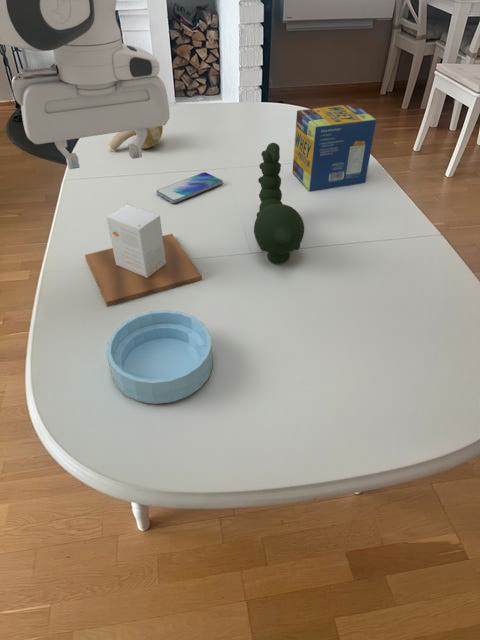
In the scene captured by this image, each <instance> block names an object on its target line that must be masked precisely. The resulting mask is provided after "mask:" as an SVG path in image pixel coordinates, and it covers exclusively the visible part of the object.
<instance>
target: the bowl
mask: <svg viewBox="0 0 480 640" xmlns="http://www.w3.org/2000/svg"><path fill="white" fill-rule="evenodd" d="M211 337H212V336H211V333H210V332H209V330H208V328H207V327H206V325H205V324H204V323H203V322H201V321H200V320H199V319H197V317H195V316H193V315H190V314H188V313H185V312H182V311H177V310H169V309H163V310H152V311H148V312H144V313H140V314H138V315H135V316H133V317H131V318H129V319H127V320H125V321H124V322H122V324H121V325H119V326H118V327H117V328H116V329H115V330H114V331H113V332H112V334H111V336H110V338H109V340H108V342H107V347H106V358H107V363H108V365H109V369H110V374H111V377H112V380H113V383H114V385H115V387H116V388H117V389H118V390H119V391H120V392H121V393H122V394H123V395H125V396H126V397H128V398H129V399H130V398H131V399H133V400H135V401H137V402H140V403H146V404H154V405H158V404H168V403H169V404H170V403H173V402H176V401H179V400H182V399H185V398H189V397H190V396H191V395H192V394H194V393H195V392H196V391H198V390H199V389H201V388H202V387H203V385H204V384H205V383H206V381H207V380H208V379H209V378H210V375H211V371H212V369H213V348H212V347H213V346H212V345H213V344H212V338H211Z"/></svg>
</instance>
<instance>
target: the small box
mask: <svg viewBox="0 0 480 640" xmlns="http://www.w3.org/2000/svg"><path fill="white" fill-rule="evenodd" d="M106 222H107V226H108V231H109V236H110V243H111V246H112V248H113V252H114V257H115V262H116V265H118V266H120V267H123V268H125V269H127V270H130V271H132V272H134V273H137V274H139V275H141V276H144V277H146V278H148V277H149V276H151V275H152V274H153V273H155V272H156V271H157V270H158V269H160V268H161V267H162V266H164V265H165V264H166V259H165V251H164V244H163V236H164V235H163V229H162V221H161V216H160V215H158V214H155V213H152V212H151V211H147V210H145V209H141V208H139V207H136V206H133V205H131V204H126V205H124V206H122V207H121V208H119V209H117V210H115V211H114V212H112V213H111V214H108V215H107V216H106Z"/></svg>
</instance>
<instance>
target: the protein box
mask: <svg viewBox="0 0 480 640" xmlns="http://www.w3.org/2000/svg"><path fill="white" fill-rule="evenodd" d="M295 120H296V121H295V135H294V148H293V159H292V174H293V175H294V176H295V177H296V178H297V180H298V181H299V182H300V183H301V184H302V185H303V187H305V189H306V190H307V191H308V192H313V191H320V190H325V189H332V188H339V187H345V186H352V185H358V184H364V183H366V181H367V175H368V169H369V164H370V158H371V153H372V147H373V142H374V136H375V130H376V125H377V119H376V118H375V117H374V116H372V115H371V114H369V113H368V112H367V111H365V110H364V109H362V107H360V106H358V104H356V103H349V104H342V105H333V106H323V107H316V108H309V109H299V110H297V111H296V119H295Z"/></svg>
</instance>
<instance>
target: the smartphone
mask: <svg viewBox="0 0 480 640" xmlns="http://www.w3.org/2000/svg"><path fill="white" fill-rule="evenodd" d="M222 184H223V180H222V179H221V178H219V177H216V176H214V175H212V174H210V173H208V172H206V171H205V172H200V173H198V174H196V175H193V176H191V177H188V178H185V179H183V180H180V181H178V182H177V181H176V182H174V183H172V184H170V185H167V186H164V187H162V188H159V189H157V190H156V195H157V196H159V197H161V198H163V199H165V200H166V201H168V202H170V203H172V204H176V203H179V202H181V201H184V200H186V199H188V198H191V197H194V196H196V195H199V194H201V193H203V192H206V191H209V190H211V189H214V188H216V187H219V186H221V185H222Z"/></svg>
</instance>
